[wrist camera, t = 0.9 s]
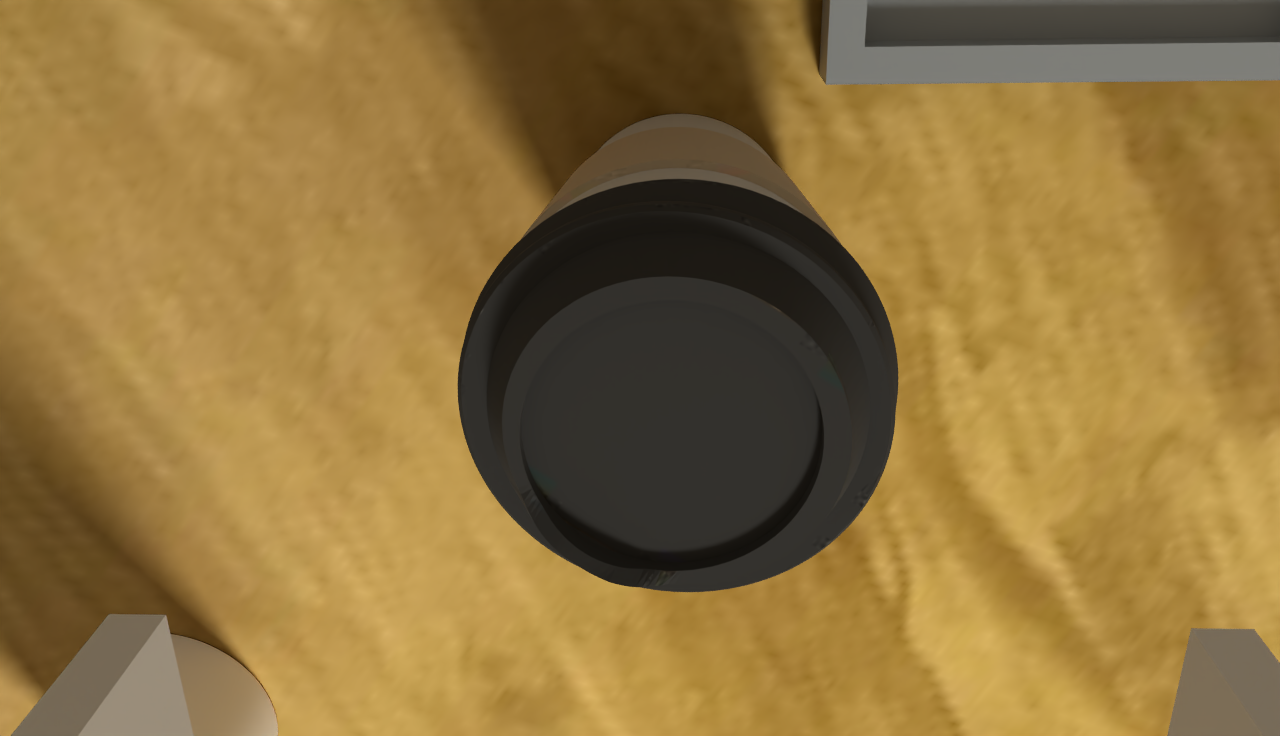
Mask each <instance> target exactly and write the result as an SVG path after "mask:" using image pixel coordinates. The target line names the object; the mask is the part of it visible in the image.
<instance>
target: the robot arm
mask: <svg viewBox="0 0 1280 736" xmlns="http://www.w3.org/2000/svg"><path fill="white" fill-rule="evenodd" d="M11 736H194V735H193V731H192V726H191V722H190V717H189V713H188V709H187V704H186V700H185V696H184V691H183V687H182V682H181V678H180V674H179V669H178V665H177V661H176V656H175V652H174V647H173V643H172V639H171V634H170V630H169V626H168V621H167V617H166V615H147V614H109V615H108V616H107V617H106V618H105V620H104V621H103V622H102V623H101V624H100V626H99V627H98V628H97V629H96V631H95V632H94V633H93V634H92V636H91V637H90V638H89V639H88V641H87V642H86V643H85V644H84V646H83V647H82V648H81V649H80V651H79V652H78V653H77V654H76V655H75V657H74V658H73V659H72V660H71V662H70V663H69V664H68V665H67V667H66V668H65V669H64V670H63V672H62V673H61V674H60V675H59V677H58V678H57V679H56V680H55V682H54V683H53V684H52V685H51V687H50V688H49V689H48V690H47V691H46V693H45V694H44V695H43V696H42V698H41V699H40V700H39V701H38V703H37V704H36V705H35V706H34V708H33V709H32V710H31V711H30V713H29V714H28V715H27V716H26V718H25V719H24V720H23V721H22V722H21V724H20V725H19V726H18V727H17V729H16V730H15V731H14V732H13V734H12V735H11ZM1167 736H1280V663H1279V662H1278V660H1277V659H1276V658H1275V656H1274V655H1273V654H1272V652H1271V651H1270V650H1269V648H1268V647H1267V646H1266V644H1265V643H1264V642H1263V641H1262V639H1261V638H1260V637H1259V635H1258V634H1257V633H1256V631H1255V630H1254V629H1197V628H1191V632H1190V636H1189V641H1188V645H1187V650H1186V654H1185V659H1184V663H1183V668H1182V672H1181V677H1180V681H1179V686H1178V690H1177V695H1176V699H1175V704H1174V708H1173V713H1172V717H1171V722H1170V726H1169V731H1168V735H1167Z"/></svg>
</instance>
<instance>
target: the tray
mask: <svg viewBox="0 0 1280 736" xmlns="http://www.w3.org/2000/svg"><path fill="white" fill-rule="evenodd" d="M819 75H820V76H821V78H822V79H823V81H824V82H825V84H826V85H827V84H929V83H1032V82H1134V81H1236V80H1280V0H823V4H822V25H821V46H820V67H819Z"/></svg>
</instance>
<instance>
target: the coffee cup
mask: <svg viewBox="0 0 1280 736" xmlns="http://www.w3.org/2000/svg"><path fill="white" fill-rule="evenodd" d="M897 394H898V363H897V354H896V348H895V343H894V338H893V334H892V330H891V327H890V323H889V320H888V317H887V315H886V312H885V310H884V307H883V305H882V303H881V300H880V298H879V296H878V294H877V292H876V291H875V289H874V287H873V285H872V284H871V282H870V280H869V279H868V277H867V276H866V274H865V273H864V271H863V270H862V268H861V267H860V266H859V264H858V263H857V262H856V261H855V259H854V258H853V257H852V256H851V255H850V254H849V252H848V251H847V250H846V249H845V248H844V247H843V246H842V245H841V243H840V242H839V241H838V239H837V238H836V236H835V235H834V234H833V232H832V231H831V230H830V228H829V227H828V226H827V225H826V223H825V222H824V221H823V220H822V218H821V217H820V216H819V214H818V213H817V212H816V211H815V209H814V208H813V207H812V206H811V204H810V203H809V202H808V200H807V199H806V198H805V197H804V195H803V194H802V193H801V192H800V190H799V189H798V188H797V186H796V185H795V184H794V183H793V181H792V180H791V179H790V178H789V177H788V175H787V174H786V173H785V172H784V171H783V170H782V169H781V168H780V167H779V166H778V165H777V164H775V163H774V162H773V161H772V159H771V158H770V157H769V155H768V154H767V153H766V152H765V151H764V150H763V149H762V148H761V147H760V146H759V145H758V144H757V143H756V142H755V141H754V140H753V139H751V138H750V137H749V136H747V135H746V134H745V133H743V132H741V131H740V130H738V129H736V128H735V127H733V126H731V125H729V124H726V123H724V122H722V121H719V120H716V119H713V118H709V117H705V116H700V115H692V114H668V115H661V116H656V117H652V118H648V119H645V120H642V121H639V122H637V123H635V124H632V125H630V126H628V127H627V128H625V129H623V130H622V131H620V132H618V133H617V134H616V135H614V136H613V137H612V138H610V139H609V140H608V141H607V142H606V143H605V144H604V145H603V146H602V147H601V148H600V149H599V150H598V151H597V152H596V153H595V154H593V155H592V156H591V157H590V158H588V159H587V160H586V161H585V162H584V163H583V164H582V165H580V166H579V167H578V168H577V170H576V171H575V172H574V173H573V174H572V175H571V176H570V178H569V179H568V180H567V181H566V183H565V184H564V185H563V186H562V188H561V189H560V190H559V191H558V193H557V194H556V195H555V197H554V198H553V199H552V200H551V202H550V203H549V204H548V205H547V207H546V208H545V209H544V210H543V212H542V213H541V214H540V215H539V217H538V218H537V219H536V221H535V222H534V223H533V224H532V226H531V227H530V228H529V229H528V231H527V232H526V233H525V235H524V236H523V237H522V239H521V240H520V241H519V242H518V243H517V244H516V245H515V246H514V247H513V248H512V249H511V250H510V251H509V253H508V254H507V255H506V256H505V257H504V258H503V260H502V261H501V262H500V264H499V265H498V266H497V268H496V269H495V270H494V272H493V273H492V275H491V276H490V278H489V279H488V281H487V283H486V285H485V286H484V288H483V290H482V292H481V294H480V296H479V298H478V300H477V302H476V305H475V307H474V309H473V312H472V315H471V318H470V321H469V324H468V327H467V331H466V335H465V340H464V344H463V347H462V352H461V357H460V363H459V372H458V403H459V411H460V418H461V423H462V427H463V432H464V435H465V439H466V442H467V445H468V448H469V450H470V453H471V455H472V458H473V460H474V462H475V464H476V467H477V469H478V471H479V472H480V474H481V476H482V478H483V480H484V481H485V483H486V485H487V486H488V488H489V489H490V491H491V492H492V494H493V495H494V496H495V498H496V499H497V501H498V502H499V503H500V504H501V506H502V507H503V508H504V509H505V510H506V512H507V513H508V514H509V515H510V516H511V517H512V518H513V519H514V520H515V521H516V522H517V523H518V524H519V525H520V526H521V527H522V528H523V529H524V530H525V531H526V532H528V533H529V534H530V535H531V536H532V537H533V538H535V539H536V540H537V541H538V542H540V543H541V544H542V545H544V546H545V547H547V548H548V549H550V550H551V551H553V552H554V553H556V554H557V555H559V556H560V557H562V558H564V559H566V560H567V561H569V562H571V563H573V564H575V565H577V566H579V567H581V568H582V569H584V570H586V571H587V572H589V573H591V574H593V575H595V576H597V577H599V578H601V579H604V580H606V581H608V582H611V583H615V584H619V585H624V586H630V587H641V588H647V589H653V590H661V591H672V592H705V591H716V590H724V589H730V588H735V587H740V586H745V585H749V584H752V583H756V582H759V581H762V580H765V579H768V578H771V577H773V576H776V575H778V574H781V573H783V572H785V571H787V570H789V569H791V568H794V567H795V566H797V565H799V564H801V563H803V562H804V561H806V560H808V559H809V558H811V557H812V556H814V555H816V554H817V553H818V552H820V551H821V550H823V549H824V548H825V547H826V546H828V545H829V544H830V543H831V542H833V541H834V540H835V539H836V538H837V537H838V536H839V535H840V534H841V533H842V532H843V531H844V530H845V529H846V528H847V527H848V526H849V525H850V524H851V523H852V522H853V521H854V520H855V518H856V517H857V516H858V515H859V513H860V512H861V511H862V509H863V508H864V506H865V505H866V504H867V502H868V500H869V499H870V497H871V496H872V494H873V492H874V490H875V488H876V487H877V485H878V483H879V480H880V478H881V476H882V474H883V471H884V469H885V466H886V463H887V460H888V457H889V453H890V449H891V445H892V440H893V434H894V426H895V410H896V403H897Z"/></svg>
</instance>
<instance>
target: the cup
mask: <svg viewBox="0 0 1280 736" xmlns="http://www.w3.org/2000/svg"><path fill="white" fill-rule="evenodd" d="M171 639H172V643H173V647H174V652H175V656H176V661H177V665H178V669H179V674H180V678H181V682H182V687H183V691H184V696H185V700H186V704H187V709H188V713H189V717H190V722H191V726H192V731H193V735H194V736H278V723H277V718H276V714H275V711H274V708H273V705H272V703H271V701H270V699H269V697H268V695H267V693H266V692H265V690H264V689H263V687H262V686H261V684H260V683H259V682H258V681H257V680H256V678H255V677H254V676H253V675H252V674H251V673H250V672H249V671H248V670H247V669H246V668H245V667H243V666H242V665H241V664H240V663H239V662H237V661H236V660H234V659H233V658H232V657H230V656H229V655H227V654H225V653H224V652H222V651H220V650H218V649H216V648H214V647H212V646H210V645H208V644H205V643H203V642H201V641H198V640H195V639H191V638H188V637H184V636H180V635H174V634H171Z"/></svg>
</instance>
